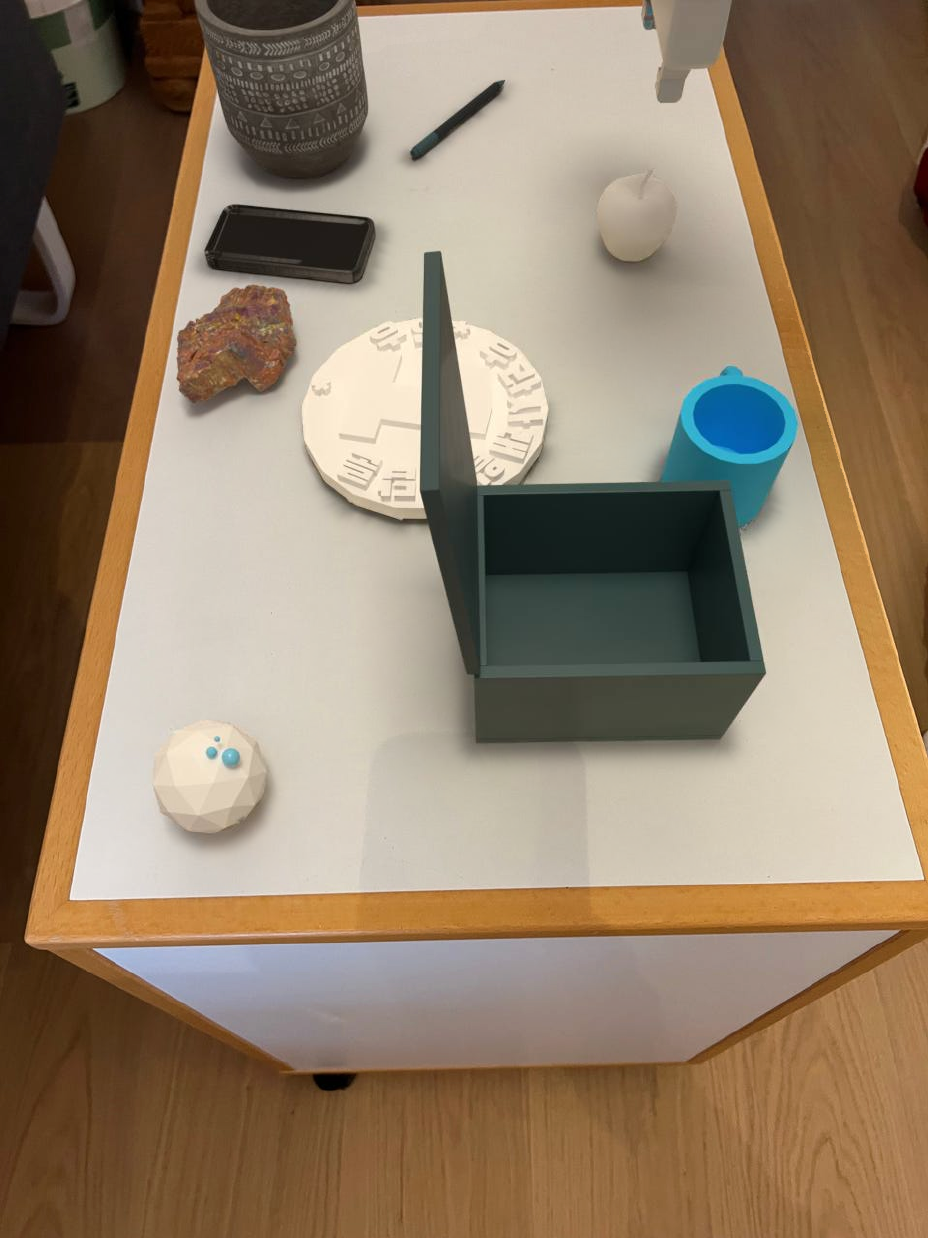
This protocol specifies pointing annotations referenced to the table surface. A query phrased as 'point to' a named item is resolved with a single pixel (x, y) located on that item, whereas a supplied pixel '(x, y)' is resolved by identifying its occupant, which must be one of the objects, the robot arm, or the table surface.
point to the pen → (456, 119)
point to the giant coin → (418, 414)
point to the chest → (612, 613)
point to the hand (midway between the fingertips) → (659, 59)
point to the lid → (449, 464)
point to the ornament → (209, 776)
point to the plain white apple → (636, 216)
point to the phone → (291, 243)
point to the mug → (733, 438)
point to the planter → (288, 80)
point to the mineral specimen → (236, 343)
